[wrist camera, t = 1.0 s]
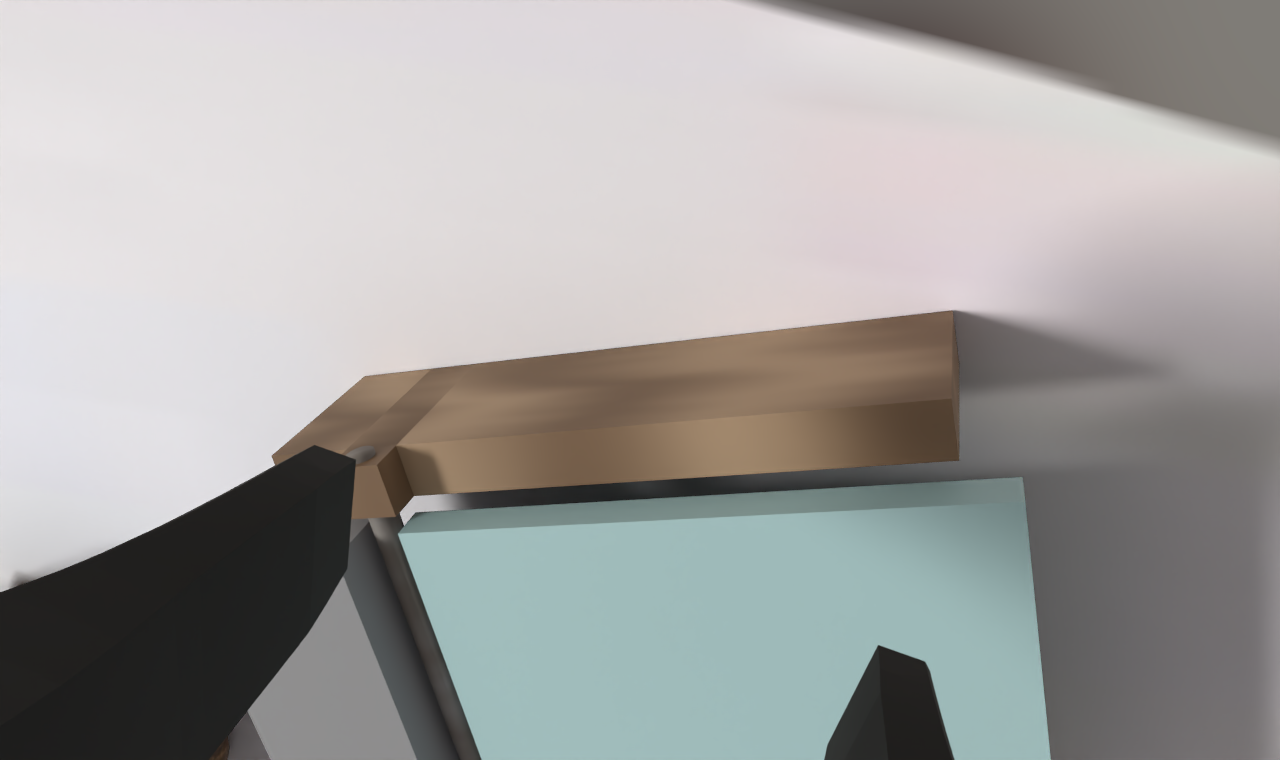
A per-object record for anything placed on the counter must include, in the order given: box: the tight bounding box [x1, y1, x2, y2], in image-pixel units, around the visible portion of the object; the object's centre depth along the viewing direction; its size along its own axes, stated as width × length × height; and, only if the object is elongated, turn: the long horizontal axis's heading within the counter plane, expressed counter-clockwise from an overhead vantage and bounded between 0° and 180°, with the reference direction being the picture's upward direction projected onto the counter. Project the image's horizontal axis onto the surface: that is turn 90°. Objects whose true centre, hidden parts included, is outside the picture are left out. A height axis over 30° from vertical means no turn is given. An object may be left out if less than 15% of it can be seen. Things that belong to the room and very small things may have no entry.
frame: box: [272, 311, 959, 760], centre depth 24 cm, size 14×14×5 cm
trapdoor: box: [248, 477, 1051, 760], centre depth 22 cm, size 17×11×2 cm, turn 103°
